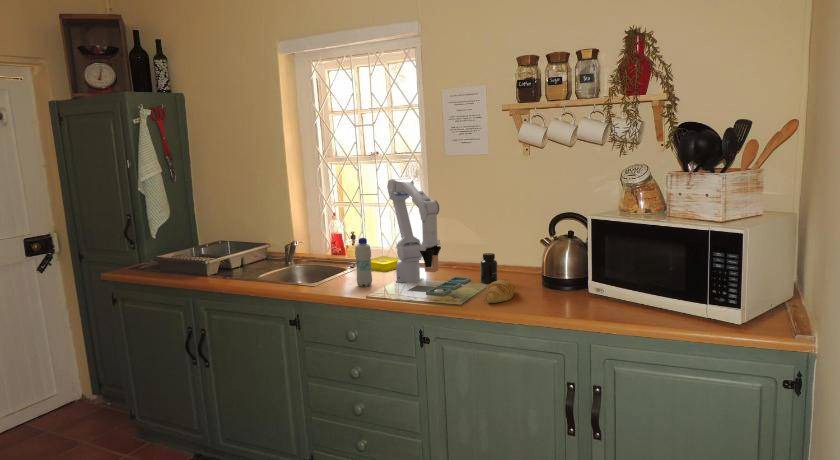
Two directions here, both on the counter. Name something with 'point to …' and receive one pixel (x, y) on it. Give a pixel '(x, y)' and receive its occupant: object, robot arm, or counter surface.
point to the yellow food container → (384, 263)
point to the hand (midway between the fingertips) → (430, 265)
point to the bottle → (363, 263)
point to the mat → (421, 288)
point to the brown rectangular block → (433, 265)
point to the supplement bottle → (488, 268)
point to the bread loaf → (500, 291)
